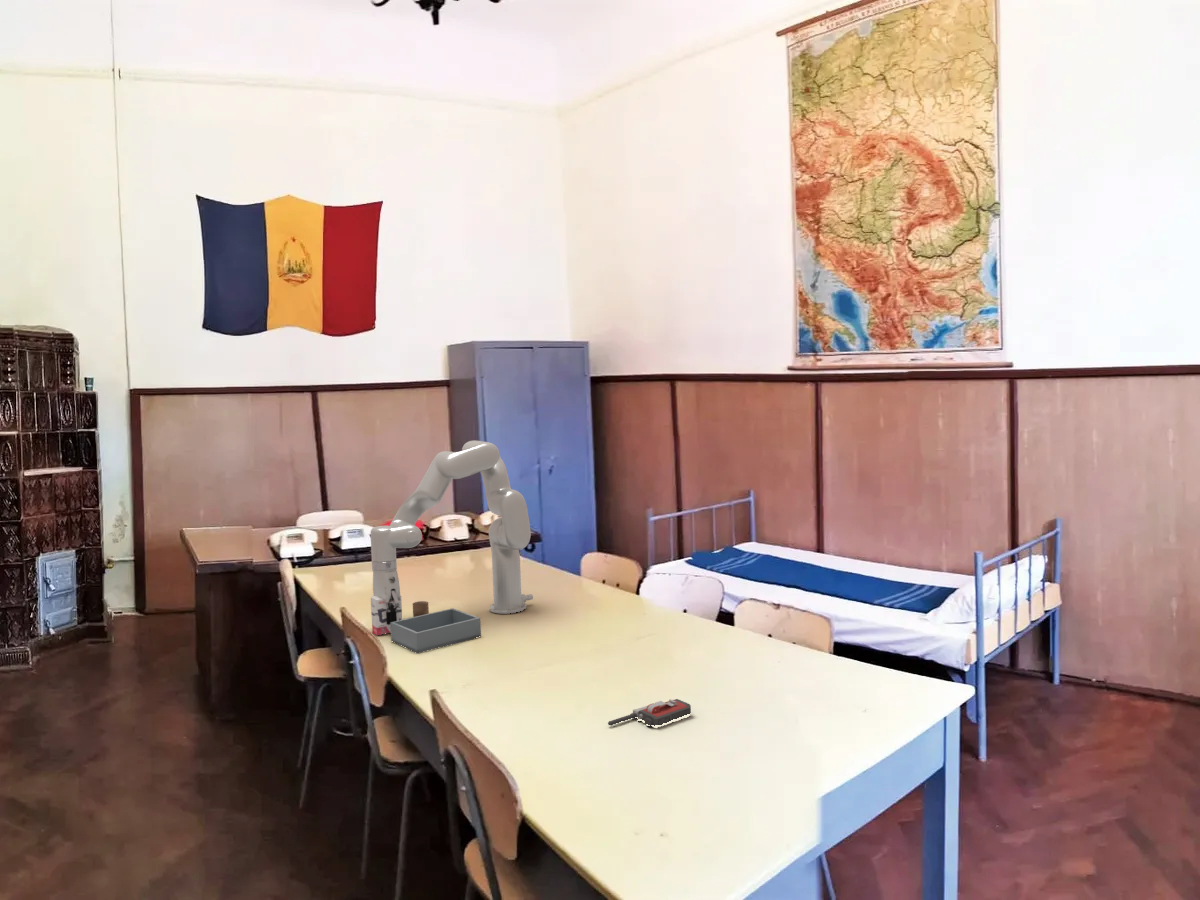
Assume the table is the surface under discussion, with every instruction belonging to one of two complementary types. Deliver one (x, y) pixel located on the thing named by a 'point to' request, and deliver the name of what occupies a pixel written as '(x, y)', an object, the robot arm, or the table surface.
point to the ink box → (382, 615)
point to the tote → (435, 630)
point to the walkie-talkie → (658, 712)
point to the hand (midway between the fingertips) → (387, 621)
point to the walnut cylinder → (420, 608)
